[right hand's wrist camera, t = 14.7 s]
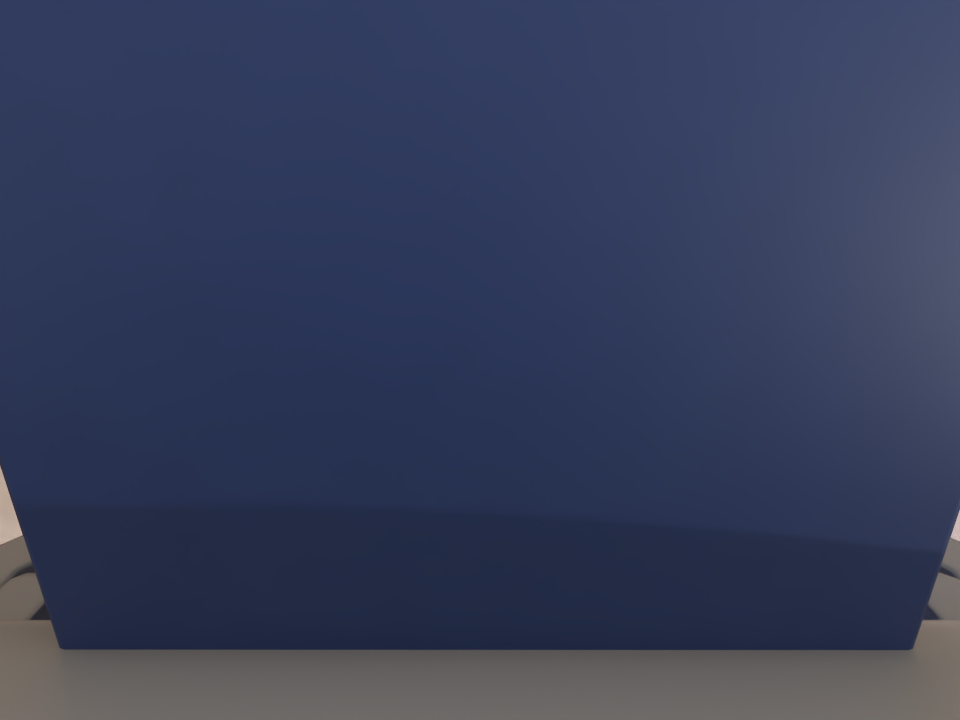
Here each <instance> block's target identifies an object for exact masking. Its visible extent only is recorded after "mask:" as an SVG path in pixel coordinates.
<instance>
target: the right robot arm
mask: <svg viewBox="0 0 960 720" xmlns="http://www.w3.org/2000/svg"><path fill="white" fill-rule="evenodd" d="M0 720H960V542H959V541H957V540H955V539H952V538H950V540H949V543H948V546H947V549H946V552H945V555H944V558H943V561H942V564H941V567H940V570H939V573H938V576H937V579H936V582H935V585H934V588H933V591H932V594H931V596H930V599H929V602H928V605H927V608H926V611H925V614H924V617H923V620H922V623H921V626H920V629H919V632H918V635H917V638H916V641H915V644H914V647H913V649H910V650H64V649H61V648H59V645H58V642H57V638H56V635H55V632H54V629H53V626H52V623H51V620H50V617H49V614H48V611H47V608H46V605H45V601H44V598H43V595H42V592H41V589H40V586H39V583H38V580H37V577H36V574H35V571H34V568H33V565H32V561H31V558H30V555H29V552H28V549H27V546H26V543H25V540H24V537H23V535H22V536H20V537H18V538H15V539H13V540H11V541H9V542H6V543H4V544H2V545H0Z"/></svg>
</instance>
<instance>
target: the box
mask: <svg viewBox="0 0 960 720" xmlns="http://www.w3.org/2000/svg"><path fill="white" fill-rule="evenodd" d="M0 466H1V469H2V472H3V475H4V478H5V481H6V484H7V487H8V491H9V494H10V497H11V500H12V503H13V506H14V509H15V512H16V515H17V518H18V521H19V524H20V528H21V531H22V534H23V537H24V540H25V543H26V546H27V549H28V552H29V555H30V558H31V561H32V565H33V568H34V571H35V574H36V577H37V580H38V583H39V586H40V589H41V592H42V595H43V598H44V601H45V605H46V608H47V611H48V614H49V617H50V620H51V623H52V626H53V629H54V632H55V635H56V638H57V642H58V645H59V648H61V649H64V650H910V649H913V647H914V644H915V641H916V638H917V635H918V632H919V629H920V626H921V623H922V620H923V617H924V614H925V611H926V608H927V605H928V602H929V599H930V596H931V594H932V591H933V588H934V585H935V582H936V579H937V576H938V573H939V570H940V567H941V564H942V561H943V558H944V555H945V552H946V549H947V546H948V543H949V540H950V537H951V534H952V531H953V528H954V525H955V522H956V519H957V516H958V513H959V510H960V0H0Z"/></svg>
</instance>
